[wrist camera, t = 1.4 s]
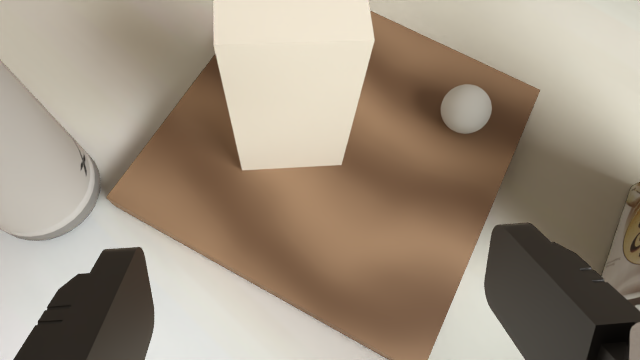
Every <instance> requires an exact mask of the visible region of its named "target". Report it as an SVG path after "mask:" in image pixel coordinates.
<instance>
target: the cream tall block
mask: <svg viewBox="0 0 640 360" xmlns="http://www.w3.org/2000/svg"><path fill="white" fill-rule="evenodd" d="M213 33H214V49H215V53H216V58H217V62H218V67H219V71H220V75H221V80H222V84H223V89H224V93H225V97H226V102H227V106H228V111H229V115H230V119H231V124H232V128H233V132H234V137H235V141H236V146H237V150H238V154H239V159H240V163H241V168H242V170H258V169H276V168H295V167H313V166H332V165H342V161H343V158H344V154H345V150H346V146H347V142H348V139H349V135H350V131H351V127H352V124H353V120H354V116H355V112H356V108H357V105H358V101H359V97H360V93H361V90H362V86H363V82H364V78H365V74H366V71H367V67H368V63H369V59H370V56H371V52H372V48H373V44H374V40H375V39H374V33H373V26H372V20H371V13H370V6H369V0H213Z"/></svg>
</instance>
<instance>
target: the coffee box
mask: <svg viewBox="0 0 640 360" xmlns="http://www.w3.org/2000/svg"><path fill="white" fill-rule="evenodd" d="M601 277H603V278H604V281H605V282H608V283H609V284H610V285H611V286H612V287H614V288H615V289H616V290H617V291H618V292H619V293H620V294H621V295H622V296H624V297H625V298H626V299H627V300H628V301H629V302H630V303H631V304H632V305H634V306H635V307H636V308H637V309H638V310H639V311H640V182H639V183H637V184H635V185H633V186H632V187H631V189H630V192H629V195H628V197H627V200H626V203H625V206H624V209H623V212H622V215H621V218H620V221H619V225H618V228H617V231H616V234H615V237H614V240H613V243H612V246H611V249H610V252H609V255H608V258H607V261H606V264H605V267H604V270H603V273H602V276H601Z"/></svg>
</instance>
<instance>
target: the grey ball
mask: <svg viewBox="0 0 640 360" xmlns="http://www.w3.org/2000/svg"><path fill="white" fill-rule="evenodd" d="M491 111H492V105H491V100H490V98H489V96H488V95H487V93H486V92H485V91H484V90H483V89H481V88H480V87H478V86H475V85H470V84H464V85H460V86H457V87H455V88H453V89H451V90H450V91H449V92H448V93H447V94H446V95H445V97H444V99H443V101H442V104H441V116H442V119H443V121H444V123H445V124H446V125H447V127H449V128H450V129H451V130H453V131H455V132H457V133H462V134H469V133H473V132H476V131H478V130H480V129H481V128H482V127H483V126H484V125H485V124H486V123H487V122H488V120H489V118H490V115H491Z"/></svg>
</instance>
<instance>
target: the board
mask: <svg viewBox="0 0 640 360" xmlns="http://www.w3.org/2000/svg"><path fill="white" fill-rule="evenodd" d="M370 13H371V20H372V26H373V33H374V39H375V40H374V44H373V48H372V52H371V56H370V59H369V63H368V67H367V71H366V74H365V78H364V82H363V86H362V90H361V93H360V97H359V101H358V105H357V108H356V112H355V116H354V120H353V124H352V127H351V131H350V135H349V139H348V142H347V146H346V150H345V154H344V158H343V161H342V165H332V166H313V167H295V168H276V169H258V170H242V168H241V163H240V159H239V154H238V150H237V146H236V141H235V137H234V132H233V128H232V124H231V119H230V115H229V111H228V106H227V102H226V97H225V93H224V89H223V84H222V80H221V75H220V71H219V67H218V62H217V58H216V54H215V55H214V56H213V58H212V59H211V60H210V62H209V63H208V64H207V66H206V67H205V68H204V69H203V71H202V72H201V73H200V75H199V76H198V77H197V79H196V80H195V81H194V83H193V84H192V85H191V87H190V88H189V89H188V91H187V92H186V93H185V94H184V96H183V97H182V98H181V100H180V101H179V102H178V104H177V105H176V106H175V108H174V109H173V110H172V112H171V113H170V114H169V116H168V117H167V118H166V119H165V121H164V122H163V123H162V125H161V126H160V127H159V129H158V130H157V131H156V133H155V134H154V135H153V137H152V138H151V139H150V141H149V142H148V143H147V144H146V146H145V147H144V148H143V150H142V151H141V152H140V154H139V155H138V156H137V158H136V159H135V160H134V162H133V163H132V164H131V166H130V167H129V168H128V169H127V171H126V172H125V173H124V175H123V176H122V177H121V179H120V180H119V181H118V183H117V184H116V185H115V187H114V188H113V189H112V191H111V192H110V193H109V194H108V196H107V197H106V198H107V199H108V200H109V201H110V202H111V203H112V204H113V205H115V206H116V207H118V208H120V209H121V210H123V211H125V212H127V213H129V214H130V215H132V216H134V217H136V218H137V219H139V220H141V221H143V222H145V223H146V224H148V225H150V226H152V227H153V228H155V229H157V230H159V231H161V232H162V233H164V234H166V235H168V236H170V237H171V238H173V239H175V240H177V241H178V242H180V243H182V244H184V245H186V246H187V247H189V248H191V249H193V250H194V251H196V252H198V253H200V254H202V255H203V256H205V257H207V258H209V259H210V260H212V261H214V262H216V263H218V264H219V265H221V266H223V267H225V268H227V269H228V270H230V271H232V272H234V273H235V274H237V275H239V276H241V277H243V278H244V279H246V280H248V281H250V282H251V283H253V284H255V285H257V286H259V287H260V288H262V289H264V290H266V291H267V292H269V293H271V294H273V295H275V296H276V297H278V298H280V299H282V300H283V301H285V302H287V303H289V304H291V305H292V306H294V307H296V308H298V309H300V310H301V311H303V312H305V313H307V314H308V315H310V316H312V317H314V318H316V319H317V320H319V321H321V322H323V323H324V324H326V325H328V326H330V327H332V328H333V329H335V330H337V331H339V332H340V333H342V334H344V335H346V336H348V337H349V338H351V339H353V340H355V341H357V342H358V343H360V344H362V345H364V346H365V347H367V348H369V349H371V350H373V351H374V352H376V353H378V354H380V355H381V356H383V357H385V358H387V359H389V360H428V358H429V355H430V353H431V351H432V348H433V346H434V343H435V341H436V339H437V336H438V334H439V331H440V329H441V327H442V324H443V322H444V319H445V317H446V315H447V312H448V310H449V307H450V305H451V303H452V300H453V298H454V295H455V293H456V291H457V288H458V286H459V283H460V281H461V279H462V276H463V274H464V271H465V269H466V267H467V264H468V262H469V260H470V257H471V255H472V252H473V250H474V248H475V245H476V243H477V240H478V238H479V236H480V233H481V231H482V228H483V226H484V224H485V221H486V219H487V216H488V214H489V212H490V209H491V207H492V204H493V202H494V200H495V197H496V195H497V192H498V190H499V188H500V185H501V183H502V180H503V178H504V176H505V173H506V171H507V168H508V166H509V164H510V161H511V159H512V156H513V154H514V152H515V149H516V147H517V145H518V142H519V140H520V137H521V135H522V133H523V130H524V128H525V125H526V123H527V121H528V118H529V116H530V113H531V111H532V109H533V106H534V104H535V101H536V99H537V97H538V94H539V92H540V90H539V89H537V88H535V87H533V86H530V85H528V84H526V83H524V82H522V81H520V80H518V79H515V78H513V77H511V76H509V75H507V74H505V73H503V72H500V71H498V70H496V69H494V68H492V67H490V66H488V65H485V64H483V63H481V62H479V61H477V60H475V59H473V58H470V57H468V56H466V55H464V54H462V53H460V52H458V51H455V50H453V49H451V48H449V47H447V46H445V45H443V44H440V43H438V42H436V41H434V40H432V39H430V38H428V37H425V36H423V35H421V34H419V33H417V32H415V31H413V30H410V29H408V28H406V27H404V26H402V25H400V24H398V23H395V22H393V21H391V20H389V19H387V18H385V17H383V16H380V15H378V14H376V13H374V12H372V11H370ZM464 84H470V85H475V86H478V87H480V88H481V89H483V90H484V91H485V92H486V93H487V95H488V96H489V98H490V100H491V105H492V111H491V115H490V118H489V120H488V122H487V123H486V124H485V125H484V126H483V127H482V128H481V129H480V130H478V131H476V132H473V133H469V134H462V133H457V132H455V131H453V130H451V129H450V128H449V127H447V125H446V124H445V123H444V121H443V119H442V116H441V104H442V101H443V99H444V97H445V95H446V94H447V93H448V92H449V91H450V90H451V89H453V88H455V87H457V86H460V85H464Z"/></svg>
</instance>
